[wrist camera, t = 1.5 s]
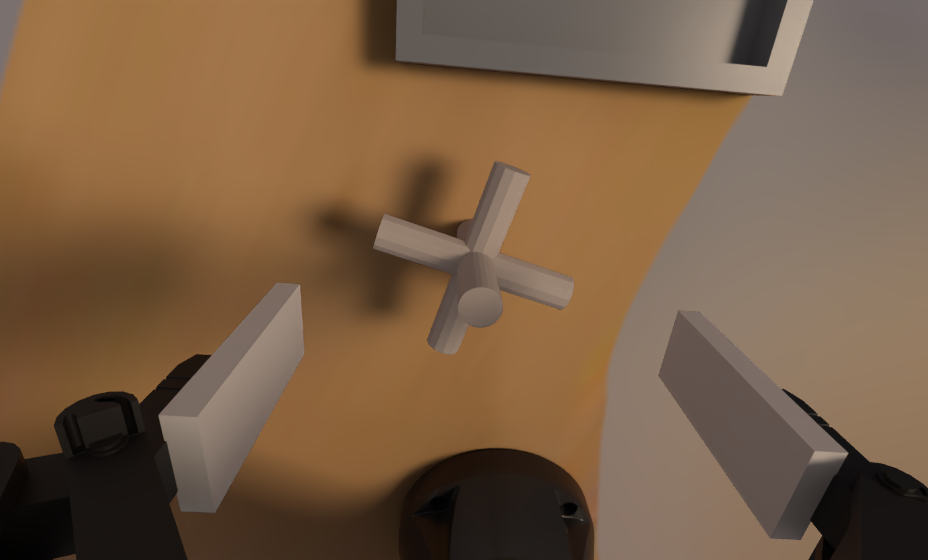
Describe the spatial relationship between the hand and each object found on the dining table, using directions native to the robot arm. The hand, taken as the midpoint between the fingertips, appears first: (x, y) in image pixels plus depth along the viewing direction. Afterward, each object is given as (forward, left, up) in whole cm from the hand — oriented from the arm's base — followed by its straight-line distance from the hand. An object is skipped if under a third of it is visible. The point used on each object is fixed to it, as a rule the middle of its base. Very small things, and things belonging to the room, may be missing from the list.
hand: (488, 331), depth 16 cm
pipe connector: (0, 0, -13) cm, 13 cm away
